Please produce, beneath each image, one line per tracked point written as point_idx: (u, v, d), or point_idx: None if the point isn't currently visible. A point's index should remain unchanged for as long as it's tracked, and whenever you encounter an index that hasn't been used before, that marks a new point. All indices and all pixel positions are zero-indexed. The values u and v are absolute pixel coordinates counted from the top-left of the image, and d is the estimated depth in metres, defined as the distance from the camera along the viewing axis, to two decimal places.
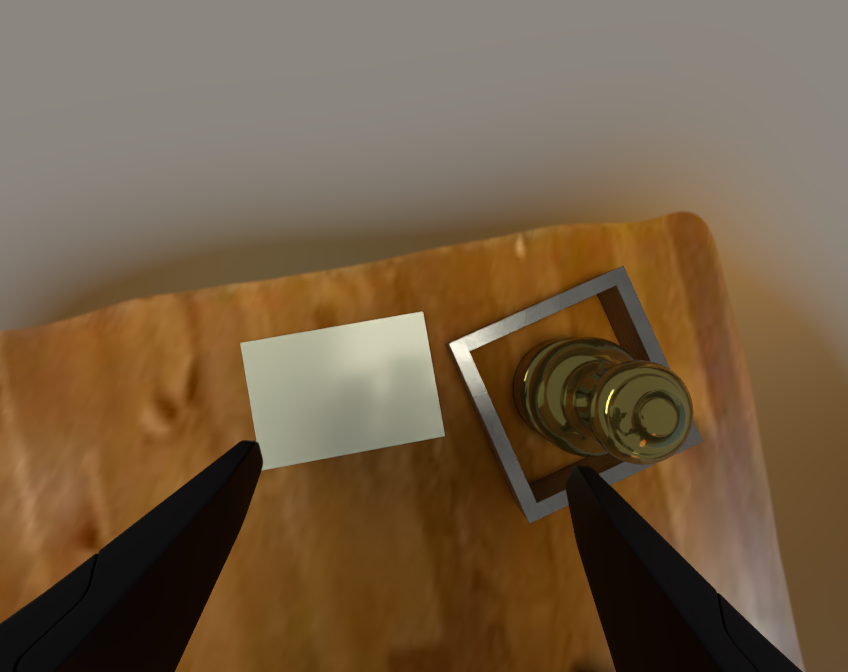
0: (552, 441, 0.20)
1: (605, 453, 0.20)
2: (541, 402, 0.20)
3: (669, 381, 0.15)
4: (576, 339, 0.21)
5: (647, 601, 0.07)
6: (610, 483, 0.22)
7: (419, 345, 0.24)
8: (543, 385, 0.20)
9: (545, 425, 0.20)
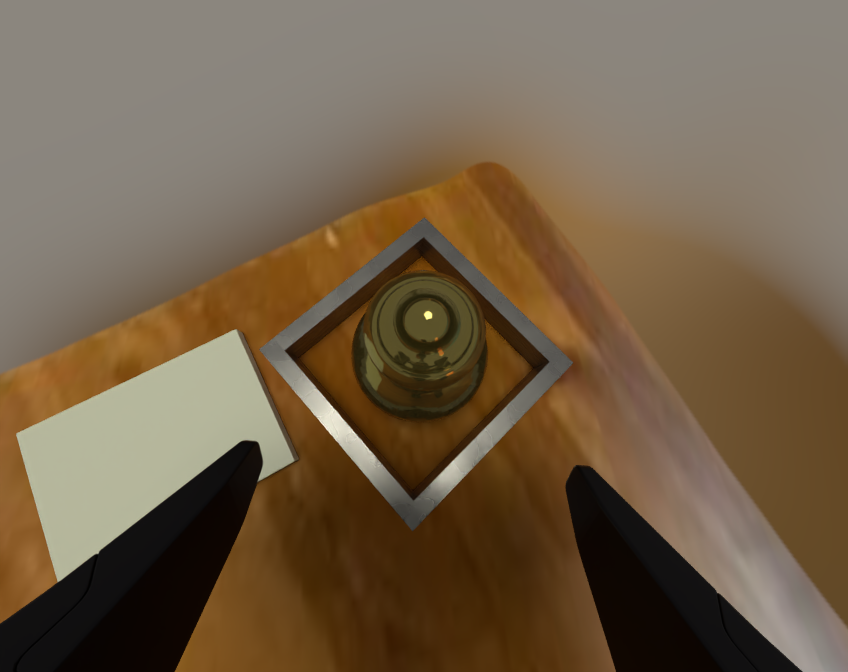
0: (392, 414, 0.17)
1: (455, 406, 0.17)
2: (361, 373, 0.17)
3: (435, 281, 0.13)
4: None
5: (647, 601, 0.07)
6: (491, 445, 0.18)
7: (240, 366, 0.20)
8: (358, 353, 0.17)
9: (375, 397, 0.17)
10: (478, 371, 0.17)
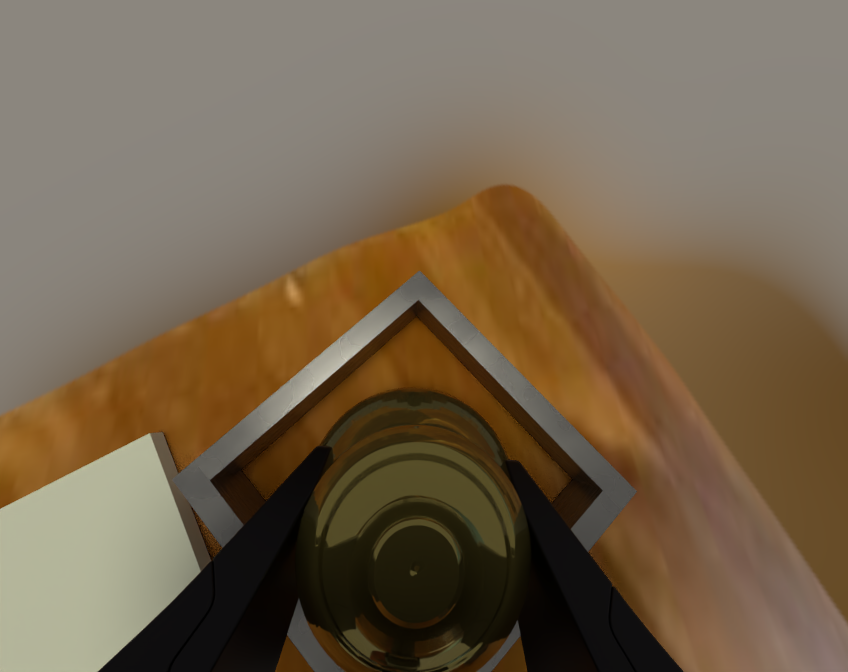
0: None
1: None
2: None
3: (435, 461, 0.07)
4: (358, 404, 0.12)
5: (547, 595, 0.07)
6: None
7: (152, 491, 0.14)
8: None
9: None
10: None
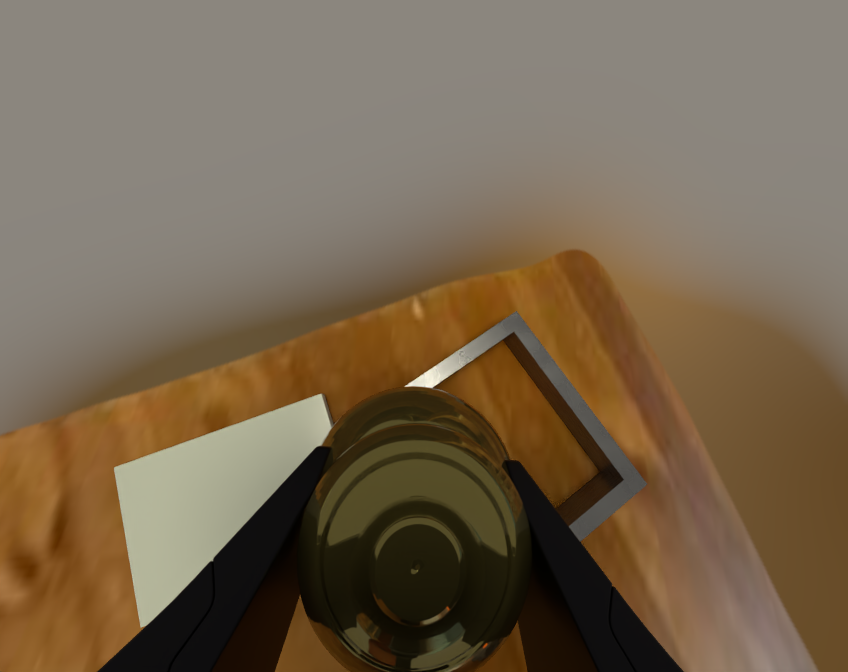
0: None
1: None
2: None
3: (436, 460, 0.07)
4: (359, 403, 0.12)
5: (547, 595, 0.07)
6: None
7: (321, 432, 0.21)
8: None
9: None
10: None
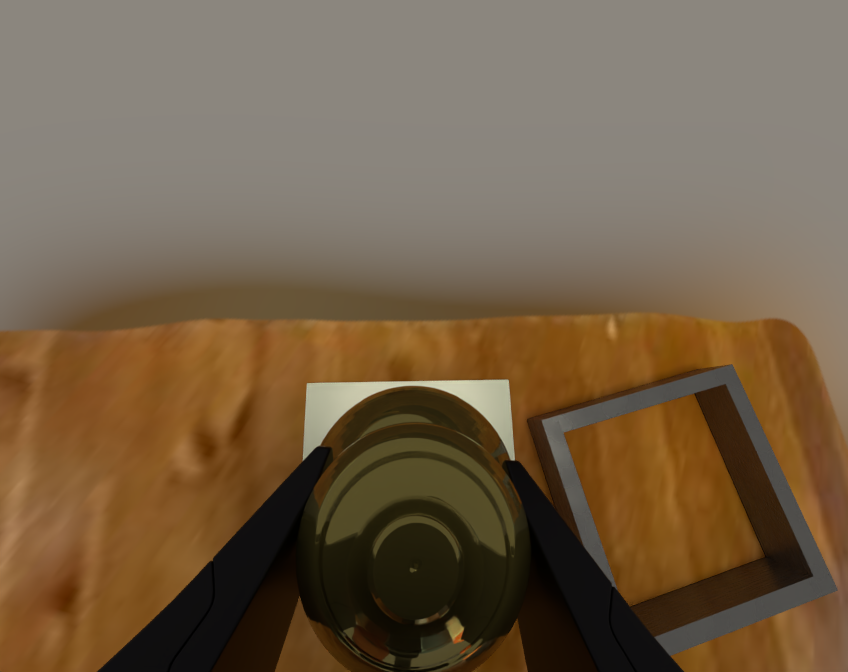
0: None
1: None
2: None
3: (434, 458, 0.07)
4: (359, 402, 0.12)
5: (547, 594, 0.07)
6: (727, 630, 0.18)
7: (501, 416, 0.21)
8: None
9: None
10: None
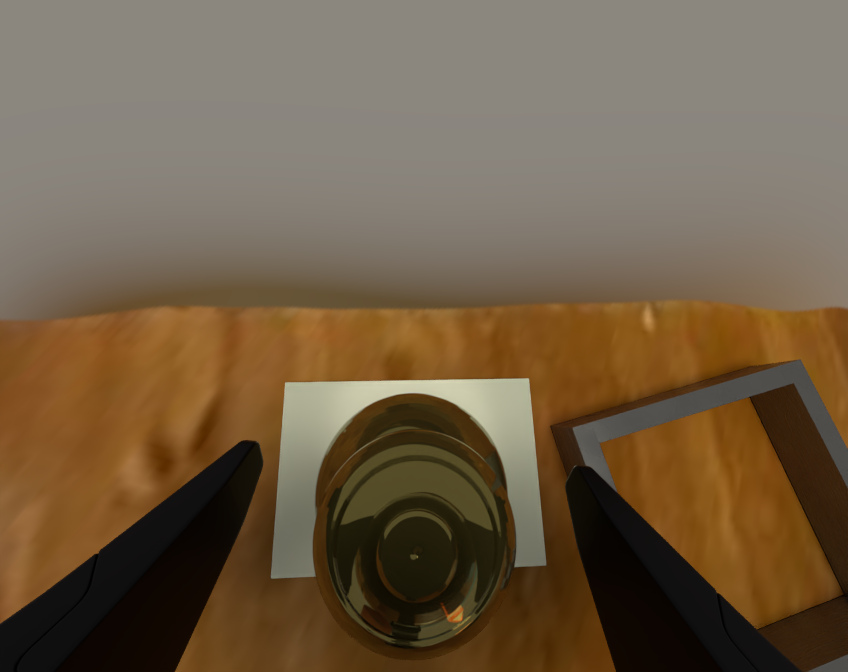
0: None
1: None
2: None
3: (433, 461, 0.08)
4: (363, 408, 0.13)
5: (647, 601, 0.07)
6: None
7: (520, 423, 0.17)
8: None
9: None
10: None
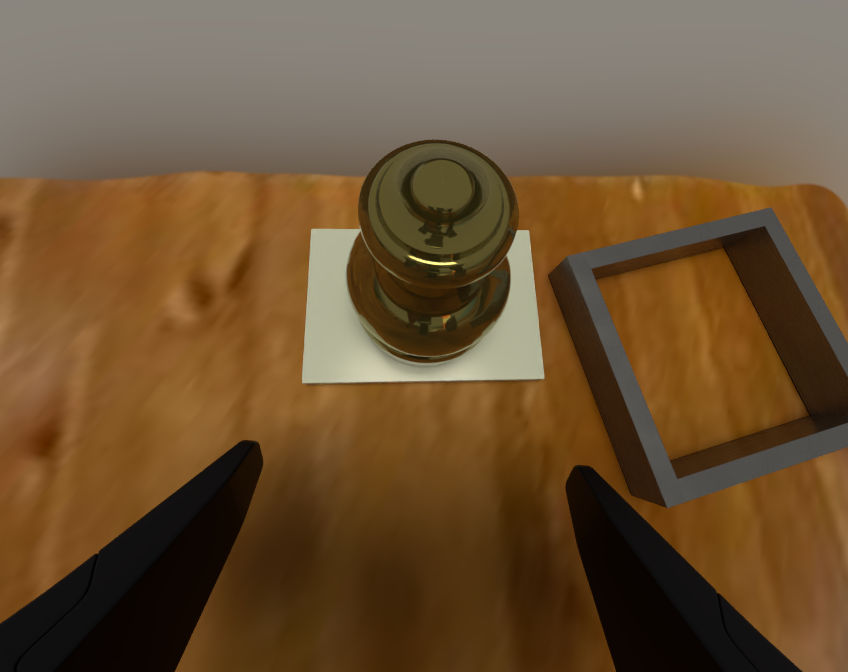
0: (395, 345, 0.14)
1: (472, 336, 0.14)
2: (357, 294, 0.14)
3: (453, 147, 0.10)
4: None
5: (647, 601, 0.07)
6: (777, 467, 0.16)
7: (521, 266, 0.20)
8: (353, 271, 0.14)
9: (374, 324, 0.14)
10: (500, 293, 0.14)
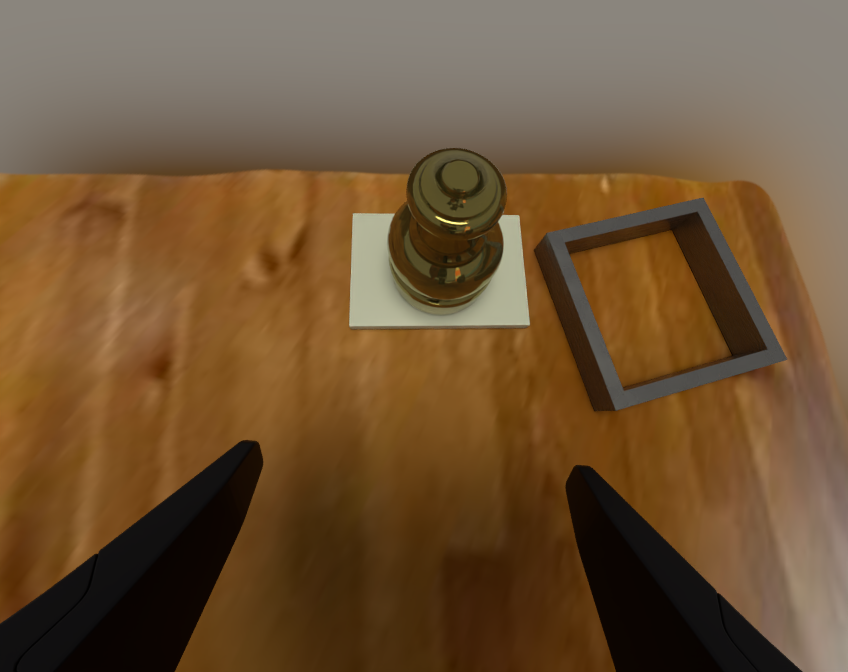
0: (423, 289, 0.20)
1: (476, 283, 0.20)
2: (397, 254, 0.20)
3: (465, 152, 0.16)
4: None
5: (647, 601, 0.07)
6: (697, 384, 0.22)
7: (513, 242, 0.26)
8: (393, 238, 0.20)
9: (408, 274, 0.20)
10: (496, 254, 0.20)
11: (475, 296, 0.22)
